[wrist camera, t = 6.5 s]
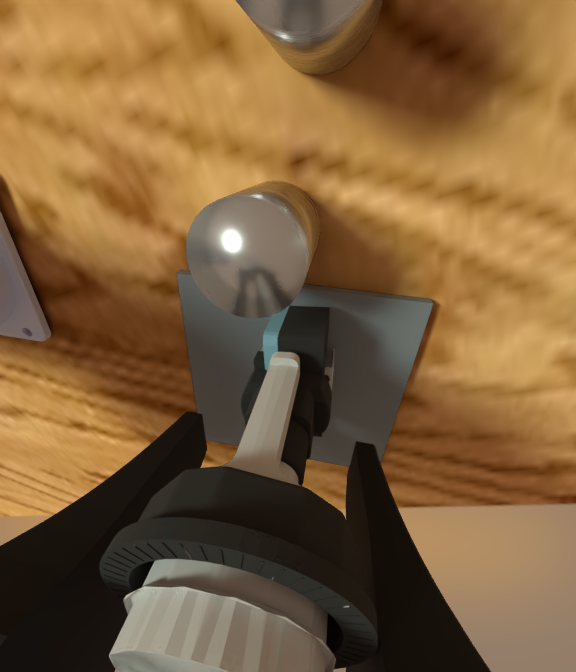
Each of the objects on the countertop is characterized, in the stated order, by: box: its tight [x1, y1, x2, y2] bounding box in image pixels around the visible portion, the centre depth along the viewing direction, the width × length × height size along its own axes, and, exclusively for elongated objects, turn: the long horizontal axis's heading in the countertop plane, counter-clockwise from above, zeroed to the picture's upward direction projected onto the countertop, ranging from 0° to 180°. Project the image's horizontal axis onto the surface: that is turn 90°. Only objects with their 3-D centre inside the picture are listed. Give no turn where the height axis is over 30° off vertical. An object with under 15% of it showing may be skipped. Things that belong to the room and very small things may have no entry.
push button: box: [99, 306, 378, 672], centre depth 10 cm, size 7×5×10 cm
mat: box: [176, 270, 433, 467], centre depth 15 cm, size 10×10×1 cm
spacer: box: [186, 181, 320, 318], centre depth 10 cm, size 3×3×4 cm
